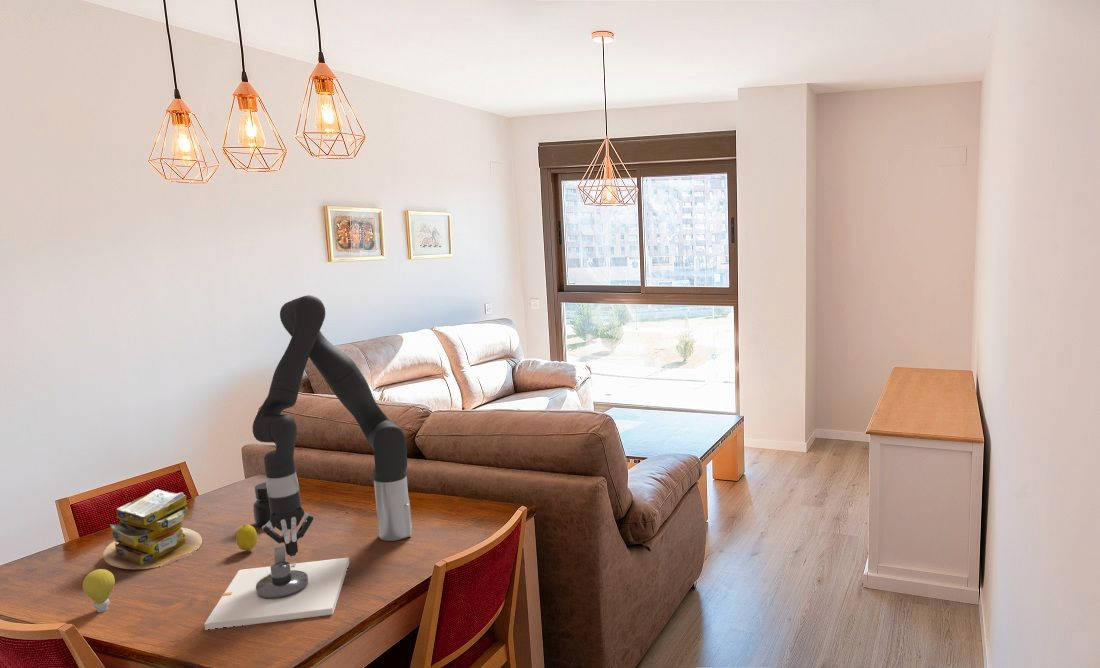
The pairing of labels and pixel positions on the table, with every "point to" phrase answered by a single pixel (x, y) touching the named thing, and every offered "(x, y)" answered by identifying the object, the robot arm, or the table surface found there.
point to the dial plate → (312, 601)
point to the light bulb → (99, 587)
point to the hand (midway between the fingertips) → (292, 554)
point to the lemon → (246, 537)
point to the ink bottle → (261, 505)
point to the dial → (281, 579)
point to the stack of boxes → (151, 532)
